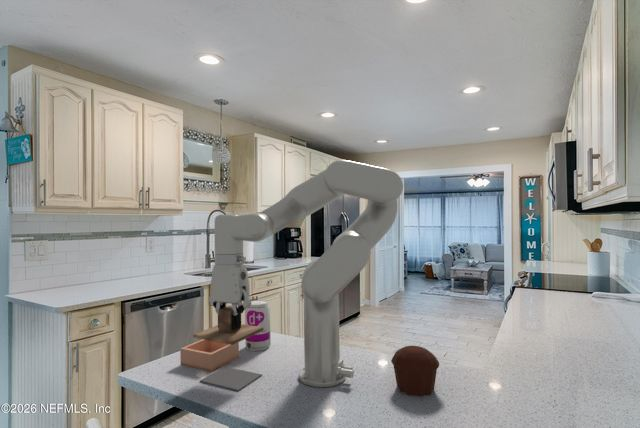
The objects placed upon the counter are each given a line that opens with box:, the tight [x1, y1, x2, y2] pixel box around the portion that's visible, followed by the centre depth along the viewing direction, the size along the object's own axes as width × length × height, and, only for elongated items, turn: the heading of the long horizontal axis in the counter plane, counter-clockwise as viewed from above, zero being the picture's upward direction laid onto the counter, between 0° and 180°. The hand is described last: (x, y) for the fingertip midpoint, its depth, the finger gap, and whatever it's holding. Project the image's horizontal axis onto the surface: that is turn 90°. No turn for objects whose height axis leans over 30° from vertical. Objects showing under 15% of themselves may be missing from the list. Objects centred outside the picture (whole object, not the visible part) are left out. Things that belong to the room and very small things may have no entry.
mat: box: [199, 366, 263, 392], centre depth 100 cm, size 13×10×1 cm
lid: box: [193, 305, 263, 345], centre depth 101 cm, size 13×13×7 cm
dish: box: [179, 339, 240, 373], centre depth 113 cm, size 12×12×5 cm
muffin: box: [390, 345, 440, 398], centre depth 93 cm, size 12×11×10 cm
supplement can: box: [244, 299, 272, 352], centre depth 125 cm, size 8×8×15 cm
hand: (229, 327), depth 101 cm, fingers closed on lid, 4 cm apart
